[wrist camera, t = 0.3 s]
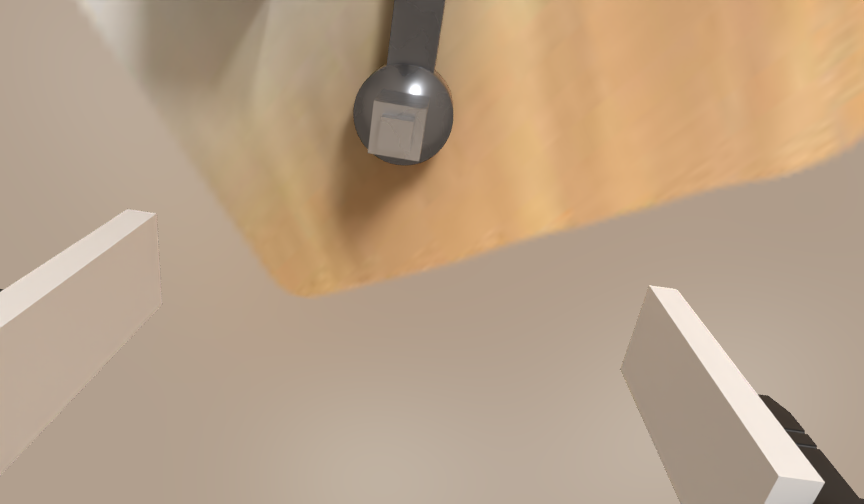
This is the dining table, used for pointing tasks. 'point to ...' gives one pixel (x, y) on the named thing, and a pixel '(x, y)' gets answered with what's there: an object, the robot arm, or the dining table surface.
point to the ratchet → (407, 90)
